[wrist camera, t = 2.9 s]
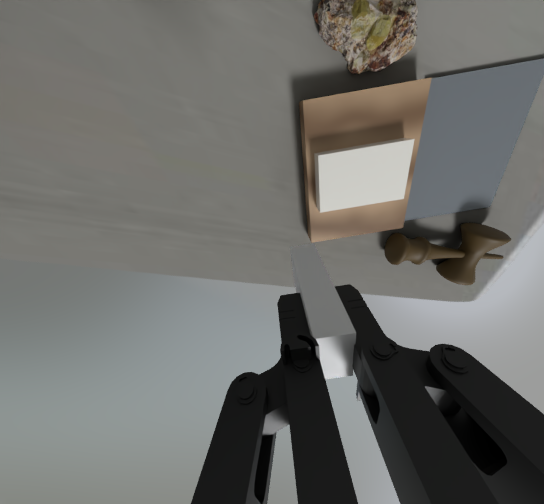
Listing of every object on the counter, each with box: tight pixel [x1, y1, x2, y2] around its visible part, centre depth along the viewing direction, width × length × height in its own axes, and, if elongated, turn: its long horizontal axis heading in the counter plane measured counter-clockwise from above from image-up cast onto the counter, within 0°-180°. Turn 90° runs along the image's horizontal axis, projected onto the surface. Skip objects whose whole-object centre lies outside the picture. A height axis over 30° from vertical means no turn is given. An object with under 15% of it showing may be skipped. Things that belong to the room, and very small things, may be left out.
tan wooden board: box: [299, 78, 432, 243], centre depth 29 cm, size 18×14×2 cm
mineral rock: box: [314, 0, 418, 74], centre depth 22 cm, size 11×4×8 cm
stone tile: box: [314, 138, 415, 213], centre depth 27 cm, size 7×11×2 cm, turn 99°
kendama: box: [385, 223, 511, 285], centre depth 35 cm, size 6×10×20 cm
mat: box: [404, 58, 544, 221], centre depth 29 cm, size 18×14×1 cm
